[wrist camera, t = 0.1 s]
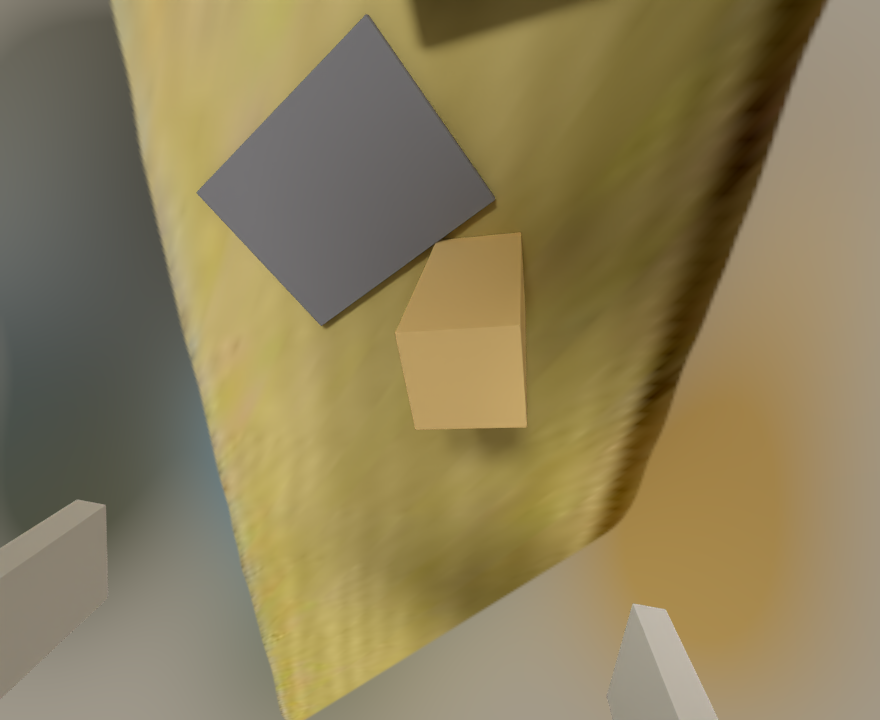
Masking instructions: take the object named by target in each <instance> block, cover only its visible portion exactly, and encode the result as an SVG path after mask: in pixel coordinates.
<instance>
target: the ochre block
mask: <svg viewBox="0 0 880 720" xmlns="http://www.w3.org/2000/svg"><path fill="white" fill-rule="evenodd" d="M395 336H396V341H397V345H398V350H399V355H400V360H401V364H402V369H403V374H404V378H405V383H406V388H407V393H408V397H409V402H410V407H411V411H412V416H413V421H414V426H415V430H424V429H470V428H516V427H527V380H526V307H525V290H524V273H523V257H522V240H521V232H517V233H507V234H497V235H486V236H476V237H465V238H455V239H445V240H439V241H438V242H436V243H435V245H434V247H433V250H432V252H431V254H430V256H429V258H428V261H427V263H426V265H425V267H424V269H423V272H422V274H421V276H420V278H419V281H418V283H417V285H416V287H415V289H414V292H413V294H412V296H411V298H410V300H409V303H408V305H407V307H406V309H405V311H404V314H403V316H402V318H401V320H400V323H399V325H398V327H397V329H396V331H395Z"/></svg>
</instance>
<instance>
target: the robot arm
mask: <svg viewBox="0 0 880 720" xmlns="http://www.w3.org/2000/svg"><path fill="white" fill-rule="evenodd" d="M106 534H107V533H106V505H102V504H97V503H92V502H87V501H81V500H76V501H74V502H73V503H71V504H69V505H68V506H66V507H65V508H63V509H61V510H60V511H58V512H57V513H55V514H54V515H52V516H50V517H49V518H48V519H46V520H44V521H42V522H41V523H39V524H38V525H36V526H35V527H33V528H31V529H30V530H28V531H27V532H25V533H24V534H22V535H20V536H19V537H17V538H16V539H14V540H12V541H11V542H9V543H8V544H6V545H5V546H3V547H1V548H0V699H1V698H2V697H3V696H4V695H5V694H6V693H7V692H8V691H9V690H11V688H13V687H14V686H15V685H16V684H17V683H18V682H19V681H20V680H21V679H22V678H23V677H24V676H25V675H27V673H29V672H30V671H31V670H32V669H33V668H34V667H35V666H36V665H37V664H38V663H39V662H40V661H41V660H42V659H44V657H45V656H47V655H48V654H49V653H50V652H51V651H52V650H53V649H54V648H55V647H56V646H57V645H58V644H59V643H60V642H62V641H63V640H64V639H65V638H66V637H67V636H68V635H69V634H70V633H71V632H72V631H73V630H74V629H75V628H76V627H77V626H79V625H80V624H81V623H82V622H83V621H84V620H85V619H86V618H87V617H88V616H89V615H90V614H91V613H92V612H93V611H94V610H95V609H97V607H99V606H100V605H101V604H102V603H103V602H104V601H105V600H106V599H107V598H108V577H107V575H108V574H107V537H106V536H107V535H106ZM607 699H608V703H609V706H610V711H611V715H612V719H613V720H718V718H717V716H716V714H715V712H714V709H713V707H712V705H711V703H710V701H709V699H708V697H707V695H706V693H705V691H704V688H703V686H702V684H701V682H700V680H699V678H698V676H697V674H696V672H695V670H694V668H693V666H692V663H691V661H690V659H689V657H688V655H687V653H686V651H685V649H684V647H683V645H682V643H681V640H680V639H679V637H678V634H677V633H676V630H675V629H674V626H673V624H672V622H671V620H670V618H669V615H668V614H667V611H666V609H660V608H654V607H649V606H644V605H639V604H633V605H632V609H631V612H630V616H629V619H628V622H627V626H626V629H625V633H624V637H623V640H622V644H621V647H620V651H619V654H618V658H617V661H616V665H615V668H614V673H613V676H612V679H611V683H610V687H609V690H608V693H607Z"/></svg>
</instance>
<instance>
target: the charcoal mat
mask: <svg viewBox="0 0 880 720" xmlns="http://www.w3.org/2000/svg"><path fill="white" fill-rule="evenodd" d="M197 194H198V195H199V196H200V197H201V198H202V199H203V200H204V201H205V203H206V204H207V205H208V206H209V207H210V208H211V209H212V210H213V211H214V212H215V213H216V214H217V215H218V216H219V217H220V219H221V220H222V221H223V222H224V223H225V224H226V225H227V226H228V227H229V228H230V229H231V230H232V231H233V232H234V233H235V235H236V236H237V237H238V238H239V239H240V240H241V241H242V242H243V243H244V244H245V245H246V246H247V247H248V248H249V249H250V251H251V252H252V253H253V254H254V255H255V256H256V257H257V258H258V259H259V260H260V261H261V262H262V263H263V264H264V265H265V267H266V268H267V269H268V270H269V271H270V272H271V273H272V274H273V275H274V276H275V277H276V278H277V279H278V280H279V282H280V283H281V284H282V285H283V286H284V287H285V288H286V289H287V290H288V291H289V292H290V293H291V294H292V295H293V296H294V298H295V299H296V300H297V301H298V302H299V303H300V304H301V305H302V306H303V307H304V308H305V309H306V310H307V311H308V312H309V314H310V315H311V316H312V317H313V318H314V319H315V320H316V321H317V322H318V323H319V324H320V325H321V326H322V325H323V324H325V323H326V322H327V321H329V320H330V319H332V318H333V317H334V316H336V315H337V314H338V313H340V312H341V311H343V310H344V309H345V308H347V307H348V306H349V305H351V304H352V303H354V302H355V301H356V300H358V299H359V298H360V297H362V296H363V295H365V294H366V293H367V292H369V291H370V290H371V289H373V288H374V287H376V286H377V285H378V284H380V283H381V282H383V281H384V280H385V279H387V278H388V277H389V276H391V275H392V274H394V273H395V272H396V271H398V270H399V269H400V268H402V267H403V266H405V265H406V264H407V263H409V262H410V261H411V260H413V259H414V258H416V257H417V256H418V255H420V254H421V253H422V252H424V251H425V250H427V249H428V248H429V247H431V246H432V245H433V244H435V243H436V242H438V241H439V240H440V239H442V238H443V237H445V236H446V235H447V234H449V233H450V232H451V231H453V230H454V229H456V228H457V227H458V226H460V225H461V224H462V223H464V222H465V221H467V220H468V219H469V218H471V217H472V216H473V215H475V214H476V213H478V212H479V211H480V210H482V209H483V208H484V207H486V206H487V205H489V204H490V203H491V202H493V201H494V200H495V197H494V195H493V194H492V192H491V191H490V190H489V188H488V187H487V185H486V184H485V182H484V181H483V179H482V178H481V177H480V175H479V174H478V172H477V171H476V169H475V168H474V166H473V165H472V164H471V162H470V161H469V159H468V158H467V156H466V155H465V153H464V152H463V151H462V149H461V148H460V146H459V145H458V143H457V142H456V140H455V139H454V138H453V136H452V135H451V133H450V132H449V130H448V129H447V127H446V126H445V125H444V123H443V122H442V120H441V119H440V117H439V116H438V114H437V113H436V112H435V110H434V109H433V107H432V106H431V104H430V103H429V101H428V100H427V99H426V97H425V96H424V94H423V93H422V91H421V90H420V88H419V87H418V86H417V84H416V83H415V81H414V80H413V78H412V77H411V75H410V74H409V73H408V71H407V70H406V68H405V67H404V65H403V64H402V62H401V61H400V60H399V58H398V57H397V55H396V54H395V52H394V51H393V49H392V48H391V47H390V45H389V44H388V42H387V41H386V39H385V38H384V36H383V35H382V34H381V32H380V31H379V29H378V28H377V26H376V25H375V24H374V22H373V21H372V19H371V18H370V16H369V15H365V16H364V17H363V18H362V19H361V20H360V21H359V22H358V23H357V24H356V25H355V26H354V27H353V28H352V30H351V31H350V32H349V33H348V34H347V35H346V36H345V37H344V38H343V39H342V40H341V41H340V42H339V43H338V44H337V45H336V46H335V47H334V48H333V49H332V51H331V52H330V53H329V54H328V55H327V56H326V57H325V58H324V59H323V60H322V61H321V62H320V63H319V64H318V65H317V66H316V67H315V68H314V69H313V71H312V72H311V73H310V74H309V75H308V76H307V77H306V78H305V79H304V80H303V81H302V82H301V83H300V84H299V85H298V86H297V87H296V88H295V89H294V91H293V92H292V93H291V94H290V95H289V96H288V97H287V98H286V99H285V100H284V101H283V102H282V103H281V104H280V105H279V106H278V107H277V108H276V109H275V110H274V112H273V113H272V114H271V115H270V116H269V117H268V118H267V119H266V120H265V121H264V122H263V123H262V124H261V125H260V126H259V127H258V128H257V129H256V130H255V132H254V133H253V134H252V135H251V136H250V137H249V138H248V139H247V140H246V141H245V142H244V143H243V144H242V145H241V146H240V147H239V148H238V149H237V150H236V151H235V153H234V154H233V155H232V156H231V157H230V158H229V159H228V160H227V161H226V162H225V163H224V164H223V165H222V166H221V167H220V168H219V169H218V170H217V171H216V173H215V174H214V175H213V176H212V177H211V178H210V179H209V180H208V181H207V182H206V183H205V184H204V185H203V186H202V187H201V188H200V189H199V190H198V191H197Z"/></svg>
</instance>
